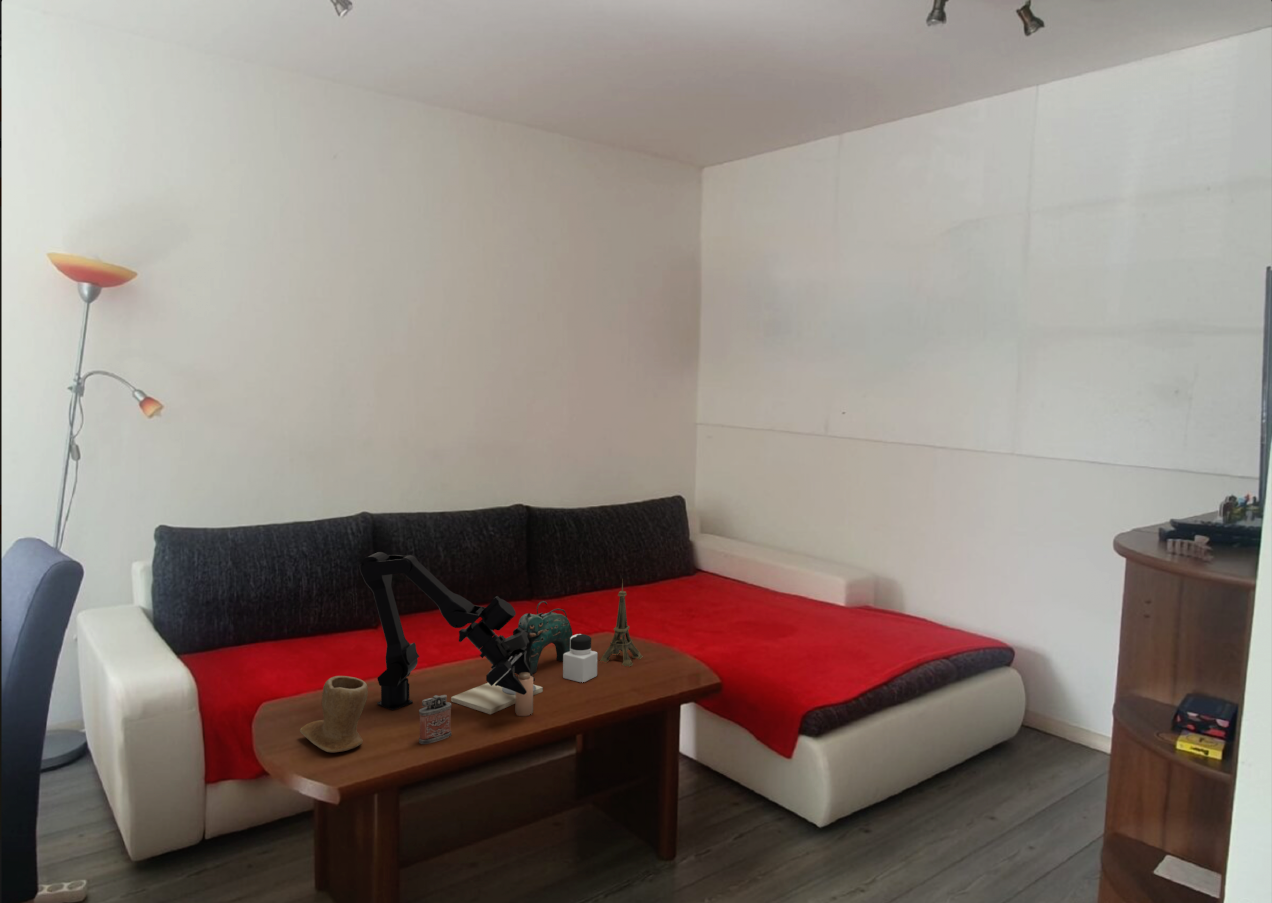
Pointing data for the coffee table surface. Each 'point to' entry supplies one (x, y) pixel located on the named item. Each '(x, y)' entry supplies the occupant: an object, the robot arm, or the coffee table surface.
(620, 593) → the eiffel tower
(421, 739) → the lighter
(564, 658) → the medicine bottle
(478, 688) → the serving board
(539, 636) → the ceramic cat
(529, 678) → the pink cylindrical bottle
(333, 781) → the coffee table surface
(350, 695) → the stone cup
